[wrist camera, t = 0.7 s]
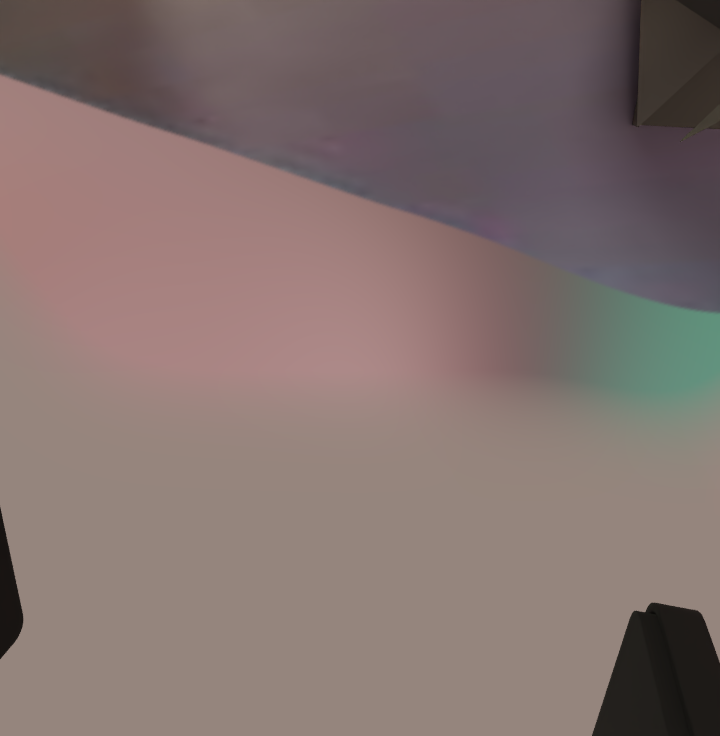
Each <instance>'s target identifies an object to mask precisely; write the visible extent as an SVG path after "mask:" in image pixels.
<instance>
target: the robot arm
mask: <svg viewBox="0 0 720 736" xmlns="http://www.w3.org/2000/svg"><path fill="white" fill-rule="evenodd" d="M22 625H23V613H22V609H21V603H20V599H19V594H18V589H17V584H16V580H15V575H14V570H13V565H12V561H11V556H10V552H9V546H8V542H7V537H6V532H5V528H4V523H3V519H2V513H1V509H0V659H1V658H2V656H3V655H4V654H5V653H6V652H7V651H8V649H9V648H10V647H11V646H12V645H13V644H14V642H15V641H16V639H17V638H18V636H19V634H20V632H21V629H22ZM592 736H720V663H719V660H718V657H717V654H716V651H715V648H714V645H713V643H712V640H711V637H710V634H709V632H708V629H707V626H706V623H705V621H704V619H703V616H702V614H701V613H700V612H698V611H696V610H691V609H686V608H680V607H675V606H669V605H664V604H659V603H651V604H650V605H649V606H648V608H647V610H646V612H639V611H634V612H633V613H632V615H631V617H630V620H629V623H628V626H627V629H626V632H625V635H624V638H623V641H622V645H621V648H620V651H619V654H618V657H617V660H616V663H615V666H614V669H613V672H612V675H611V679H610V682H609V685H608V688H607V691H606V694H605V697H604V700H603V704H602V706H601V709H600V712H599V716H598V719H597V722H596V725H595V728H594V731H593V734H592Z"/></svg>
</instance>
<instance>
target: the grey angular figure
mask: <svg viewBox="0 0 720 736" xmlns="http://www.w3.org/2000/svg"><path fill="white" fill-rule="evenodd" d="M632 125H634V126H636V127H639V126H640V125H651V126H671V127H691V128H694V129H693V130H692V131H691V132H689V133H688V134H687V135H686V136H685V137H684V138H683V139H682V140H681V141H683V140H685V139H687V138H689V137H691V136H692V135H694V134H696V133H698V132H700V131H702V130H704V129H706V128H711V129H720V0H641V20H640V49H639V78H638V98H637V103H636V108H635V113H634V118H633V123H632ZM681 141H680V142H681Z"/></svg>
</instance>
